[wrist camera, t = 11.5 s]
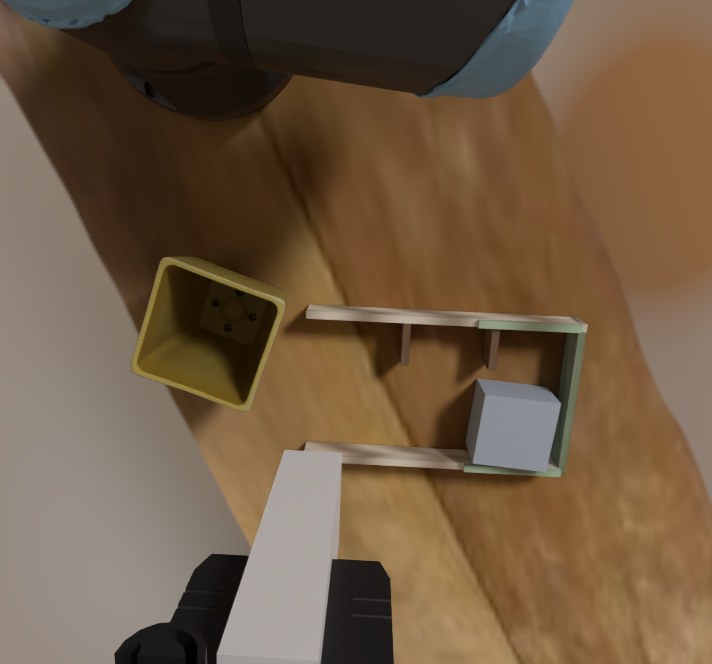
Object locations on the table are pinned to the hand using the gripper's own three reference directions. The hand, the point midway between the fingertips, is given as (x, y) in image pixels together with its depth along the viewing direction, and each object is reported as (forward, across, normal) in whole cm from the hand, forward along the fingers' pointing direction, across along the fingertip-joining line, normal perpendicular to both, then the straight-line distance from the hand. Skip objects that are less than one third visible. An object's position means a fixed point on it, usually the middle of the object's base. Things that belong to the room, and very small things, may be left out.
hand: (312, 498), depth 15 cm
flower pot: (+33, -10, -3) cm, 34 cm away
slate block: (+33, +14, -11) cm, 37 cm away
